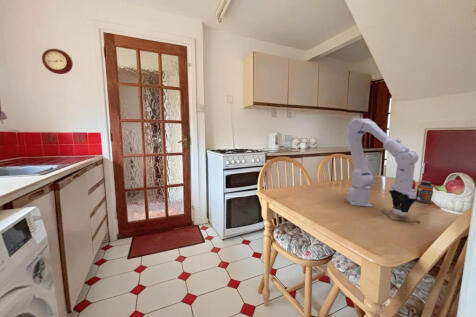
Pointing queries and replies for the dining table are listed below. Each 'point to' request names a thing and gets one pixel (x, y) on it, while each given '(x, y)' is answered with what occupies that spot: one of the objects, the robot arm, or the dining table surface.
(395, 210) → the tube
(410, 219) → the shaft stand
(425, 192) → the supplement bottle
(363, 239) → the dining table surface
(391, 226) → the dining table surface
